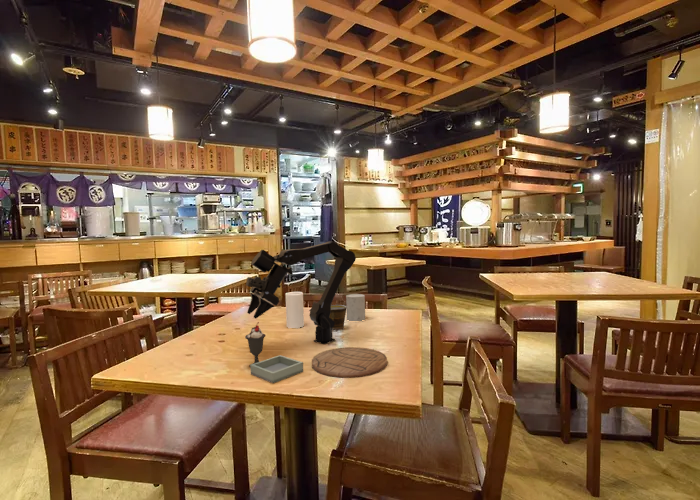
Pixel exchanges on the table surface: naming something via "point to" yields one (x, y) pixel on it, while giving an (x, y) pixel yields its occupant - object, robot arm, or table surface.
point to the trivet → (349, 362)
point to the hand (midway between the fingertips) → (251, 315)
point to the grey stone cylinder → (355, 307)
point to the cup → (294, 310)
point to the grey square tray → (276, 368)
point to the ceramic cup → (338, 316)
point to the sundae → (255, 342)
